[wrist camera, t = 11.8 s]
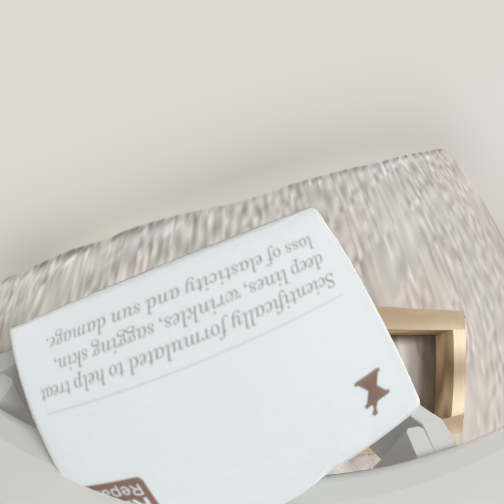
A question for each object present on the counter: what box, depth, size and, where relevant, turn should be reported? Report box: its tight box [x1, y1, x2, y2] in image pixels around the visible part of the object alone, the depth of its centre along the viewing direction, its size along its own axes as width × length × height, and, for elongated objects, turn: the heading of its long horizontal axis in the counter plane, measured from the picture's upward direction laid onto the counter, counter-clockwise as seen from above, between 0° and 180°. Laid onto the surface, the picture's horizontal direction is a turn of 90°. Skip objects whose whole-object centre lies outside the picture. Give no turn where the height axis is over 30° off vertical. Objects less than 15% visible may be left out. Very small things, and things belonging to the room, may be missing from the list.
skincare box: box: [9, 207, 420, 504], centre depth 9 cm, size 6×4×12 cm
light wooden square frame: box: [357, 306, 466, 455], centre depth 23 cm, size 13×13×3 cm
